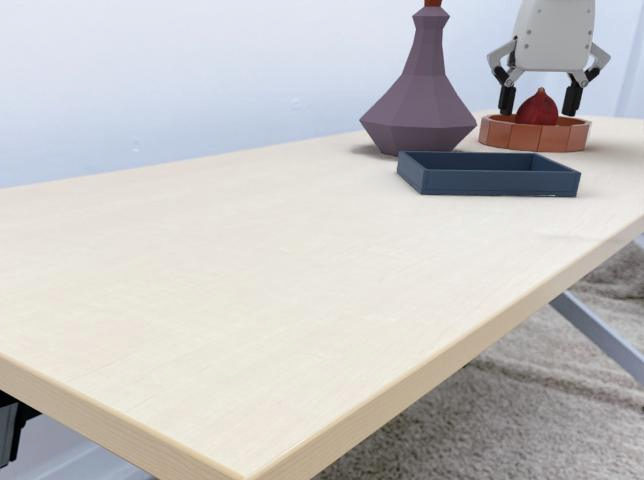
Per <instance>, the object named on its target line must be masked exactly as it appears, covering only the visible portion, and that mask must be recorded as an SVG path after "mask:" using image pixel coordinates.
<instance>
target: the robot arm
mask: <svg viewBox="0 0 644 480" xmlns="http://www.w3.org/2000/svg"><path fill="white" fill-rule="evenodd" d="M520 3H521V4H520V6H519V9H518V12H517V15H516V18H515V21H514V24H513V28H512V32H511V35H510V40H509V41H508V42H506V43H504V44H502V45H501V46H499V47H497V48H496V49H494V50H492V51H490V52H489V53H487V54H486V56H485V58H486V61H487V64H488V66H489V69H490V71H491V74H492V75H493V77H494V78H495V79H496V81H497V82H498V84H499V85H500V90H499V91H500V92H499V98H498V103H497V109H498V110H499V114H502V115H505V116H510V115H512V114H513V110H514V105H515V99H516V95H517V94H516V93H517V87H516V86H515V83H516V82H517V81H518V80H519V79H520V78H521V77H522V76H523V74H524V73H525V72H537V73H538V72H539V73H541V72H543V73H545V72H546V73H549V72H550V73H556V72H557V73H565V74H566V75H567V78H568V79H569V81H570V85H568V86H567V87H566V88H565V89H566V90H565V94H564V98H563V103H562V108H561V111H560V112H561V115H562V116H565V117H573V118H575V117H576V114H577V111H579V109H580V106H581V103H582V96H583V92H584V89H585V88H587V87H588V86H589V84H590V83H591V82H592V81H594V79H596V78H597V77H598V76H600V74H601V71H602V70H603V69H604V68H606V65H608V63H609V62H610V61H611V59H612V57H611V55H610V54H609V53H608V52H606V51H605V50H604V49H602V48H601V47H600V46H599V45H597V44H596V43H595V42H593V37H594V31H595V20H596V19H595V18H596V0H522V1H521V2H520ZM504 57H506V59H505V65H506V66H507V68H508V69H507V70H505V68H504V67H503V66H502V62H501V60H502V58H504ZM590 57H592V58H593V62H592V64H591V65H590V66H589V67H588V68H587V69H585V68H586V67H587V65H588V63H589V62H588V61H589V59H590ZM584 69H585V70H584Z"/></svg>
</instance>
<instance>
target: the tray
mask: <svg viewBox="0 0 644 480" xmlns="http://www.w3.org/2000/svg"><path fill="white" fill-rule="evenodd" d="M396 173H397V175H399V176H400V177H401V178H402V179H403V180H404V181H405V182H407V183H408V184H409V186H411V187H412V188H413V189H414V190H415V191H417V192H418V193H419V194H420V195H441V196H442V195H446V196H449V195H450V196H455V195H456V196H501V195H555V196H554V197H561V196H573V197H572V198H576V197H577V195H578V190H579V187H580V182H581V177H582V172H580V171H578V170H576V169H574V168H572V167H570V166H567V165H565V164H563V163H560V162H559V161H555V160H553V159H551V158H549V157H547V156H544V155H542V154H539V153H538V152H501V151H499V152H496V151H495V152H494V151H492V152H491V151H450V152H432V151H399V155H398V156H397V163H396ZM468 194H469V195H468ZM574 196H575V197H574Z"/></svg>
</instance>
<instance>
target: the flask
mask: <svg viewBox="0 0 644 480" xmlns="http://www.w3.org/2000/svg"><path fill="white" fill-rule="evenodd" d="M442 3H443V0H423V7H422V8H420V9H419V10H418V11H417V12H415V13H414V14H412V15H411V18H412V21H413V25H414V27H415V32H414V36H413V41H412V45H411V47H410V50H409V53H408V55H407V57H406V61H405V64H404V67H403V69H402V71H401V74H400V75H399V76H398V77H397V79H396V80H395V81H394V82H393V83H392V84H391V86H390V87H389V88H388V89H387V91H386V92H385V93H384V94H382V96H381V97H380V98H379V99H378V100H376V102H375V103H374V104H373V105H372V106H371V107H370V108H369V109H367V111H365V113H364V114H363V115H362V116H361V117H360V118H359V119H358V121H359V123H360V124H361V126H362V127H363V129H364V130H365V131H366V133H367V134H368V136H369V137H370V140H372V142H373V143H374V145H375V146H376V148H377V149H378V150H379V152H380V153H382V152H383V154H387V155H391V154H392V155H391V156H395V155H396V156H395V157H398V155H399V151H432V152H453V150H454V149H455V148H456V147H457V146H458V145H459V144H460V143H461V142H462V141H463V140H464V139H465V138H466V137H467V136H469V134H470V133H472V132H473V130H475V129H476V128H477V126H478V123H477V120H476V118H475V116H474V115H473V114H472V112H471V111H470V109H469V108H468V107H467V106H466V104H465V102H464V101H463V100H462V99H461V97H460V96H459V95H458V93H457V91H456V90H455V88H454V86H453V84H452V82H450V80H449V77H448V76H447V75H446V66H445V65H446V64H445V57H444V48H443V39H444V38H443V35H444V29H445V27H446V25H447V23H448V22H449V19H450V18H451V15H450V14H449V13H448V12H447V11H446V10H445V9H444V8H443V7H442Z"/></svg>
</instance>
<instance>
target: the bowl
mask: <svg viewBox="0 0 644 480" xmlns="http://www.w3.org/2000/svg"><path fill="white" fill-rule="evenodd" d="M515 116H516V113H512V115H510V116H505V115H502V114H500V113H495V114H486V115H484V116H482V117H481V119H480V126H479V131H478V132H479V133H478V139H477V141H478V142H479V143H482V144H483V145H485V146H490V147H495V148H501V149H505V150H514V151H527V152H535V153H539V152H541V153H567V152H578V151H585V150H586V148H587V147H588V145H589V141H590V135H591V132H592V127H593V121H590V120H587V119H585V118H584V119H583V118H580V117H569V116H566V115H559V116H558V122H557V124H556V125H532V124H518V123H515Z"/></svg>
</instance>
